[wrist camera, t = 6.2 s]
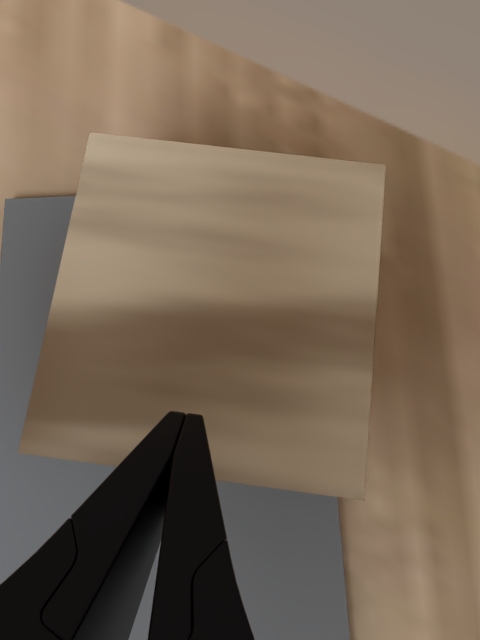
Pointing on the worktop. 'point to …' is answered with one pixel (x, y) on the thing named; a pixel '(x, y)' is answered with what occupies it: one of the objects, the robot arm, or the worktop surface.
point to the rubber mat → (83, 478)
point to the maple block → (216, 311)
